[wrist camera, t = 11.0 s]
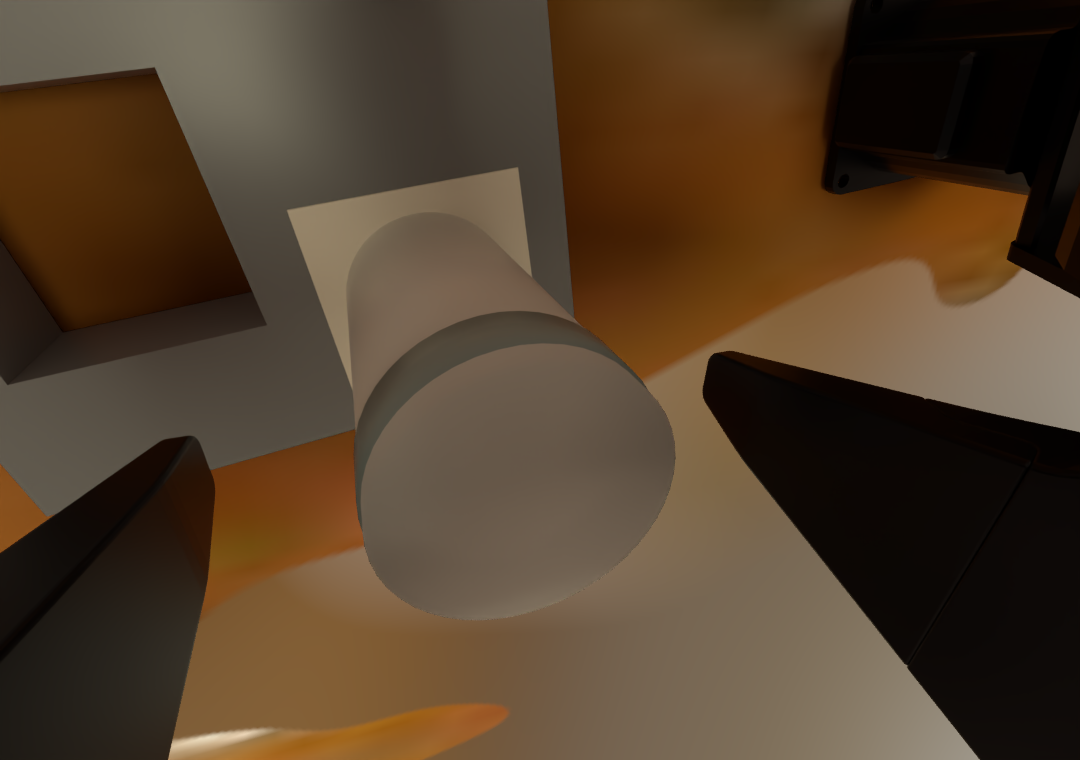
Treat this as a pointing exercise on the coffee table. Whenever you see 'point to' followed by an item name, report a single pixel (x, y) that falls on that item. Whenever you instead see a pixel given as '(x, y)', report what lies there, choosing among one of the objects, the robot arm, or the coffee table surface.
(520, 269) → the cylinder
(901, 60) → the robot arm
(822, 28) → the coffee table surface
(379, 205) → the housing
